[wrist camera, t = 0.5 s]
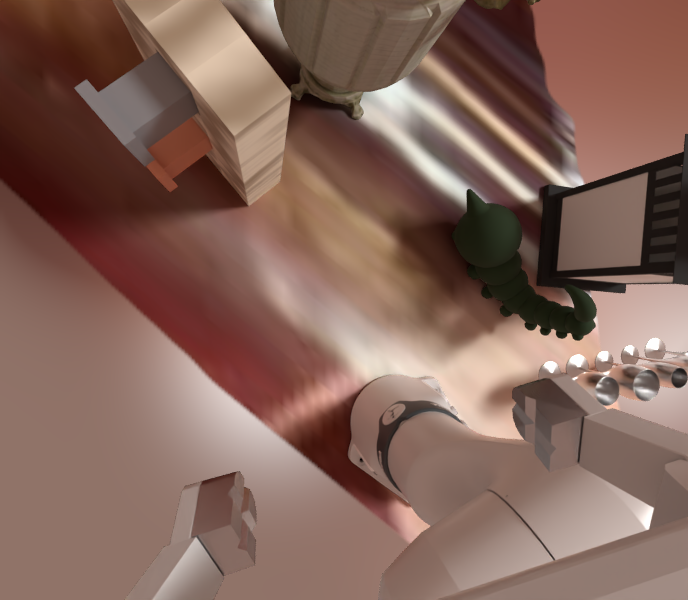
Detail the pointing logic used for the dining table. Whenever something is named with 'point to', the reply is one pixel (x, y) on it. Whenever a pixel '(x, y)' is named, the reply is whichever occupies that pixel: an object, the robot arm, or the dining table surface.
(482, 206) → the toy figurine
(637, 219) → the lantern
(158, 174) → the terracotta plug
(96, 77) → the dining table surface
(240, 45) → the block
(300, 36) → the samovar
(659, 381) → the goblet set
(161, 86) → the charcoal plug
